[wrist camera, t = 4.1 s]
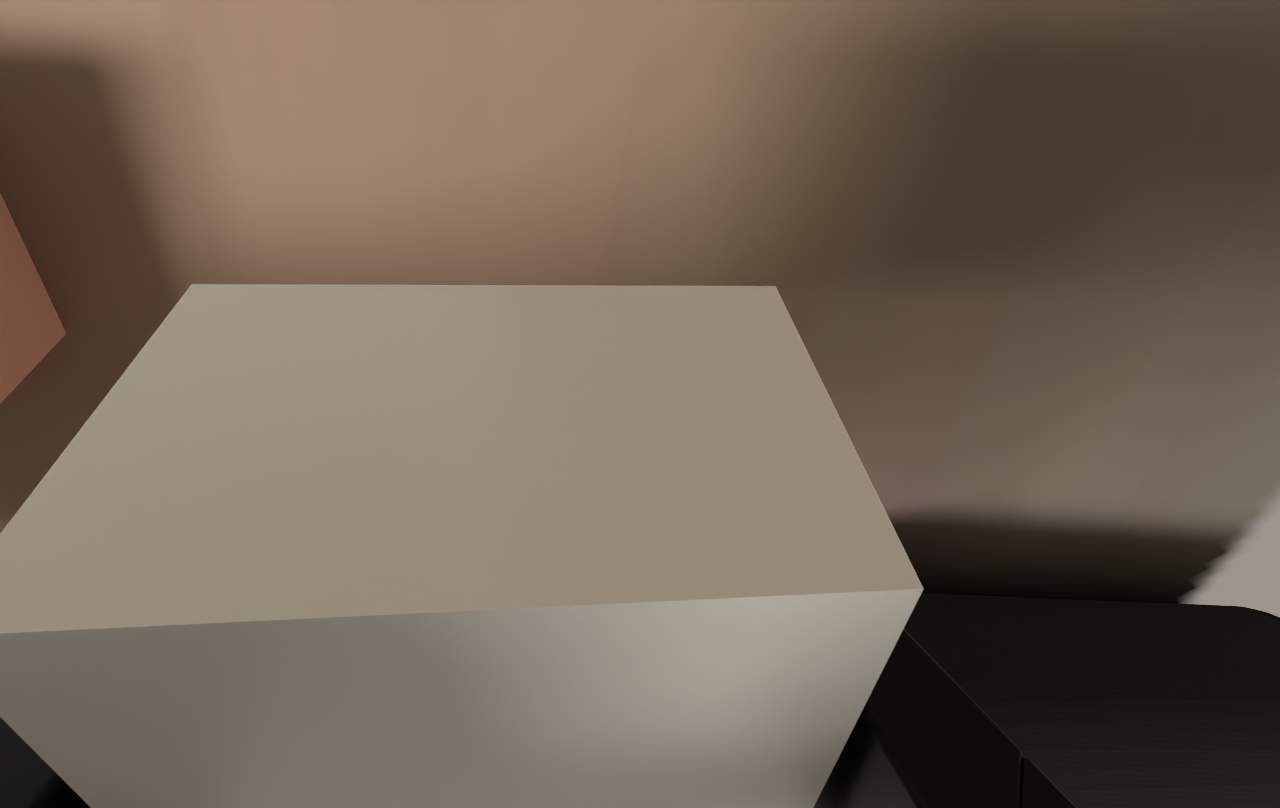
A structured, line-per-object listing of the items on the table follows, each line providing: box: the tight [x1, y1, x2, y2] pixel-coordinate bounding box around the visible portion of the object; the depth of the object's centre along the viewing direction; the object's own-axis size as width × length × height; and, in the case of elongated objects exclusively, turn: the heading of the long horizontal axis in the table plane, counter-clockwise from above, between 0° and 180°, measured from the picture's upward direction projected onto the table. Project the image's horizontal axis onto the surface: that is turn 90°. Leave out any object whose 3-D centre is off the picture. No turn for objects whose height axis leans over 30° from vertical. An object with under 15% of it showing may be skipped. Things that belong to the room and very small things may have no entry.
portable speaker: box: [904, 593, 1280, 808], centre depth 26 cm, size 26×10×10 cm, turn 78°
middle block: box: [0, 284, 924, 808], centre depth 8 cm, size 6×6×4 cm
